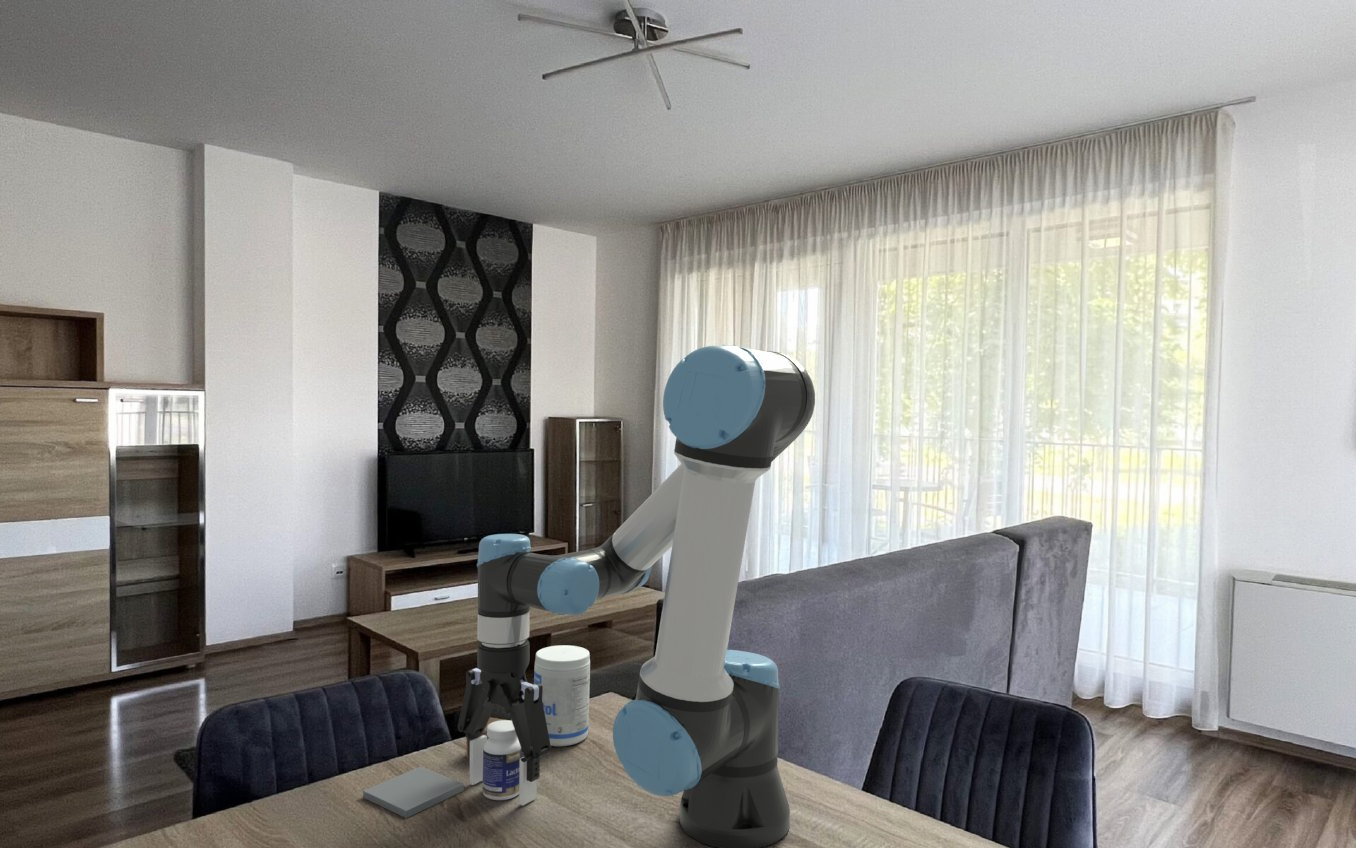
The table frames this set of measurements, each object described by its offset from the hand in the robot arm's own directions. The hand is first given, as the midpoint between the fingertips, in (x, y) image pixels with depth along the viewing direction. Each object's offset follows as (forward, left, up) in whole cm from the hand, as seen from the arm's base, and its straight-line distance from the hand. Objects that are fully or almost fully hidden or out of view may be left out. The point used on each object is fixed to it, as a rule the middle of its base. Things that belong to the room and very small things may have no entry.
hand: (502, 791), depth 119 cm
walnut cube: (+12, -8, 0) cm, 14 cm away
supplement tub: (+7, -20, 0) cm, 21 cm away
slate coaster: (+10, +8, 0) cm, 13 cm away
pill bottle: (0, 0, 0) cm, 0 cm away
